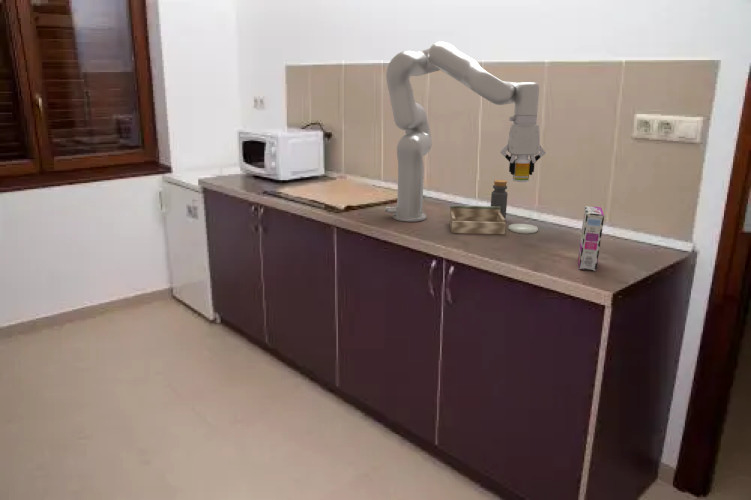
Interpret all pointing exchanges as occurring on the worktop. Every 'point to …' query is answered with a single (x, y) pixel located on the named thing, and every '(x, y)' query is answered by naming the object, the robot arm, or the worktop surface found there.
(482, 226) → the beige rectangular tray
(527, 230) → the saucer
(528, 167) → the supplement bottle
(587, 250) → the candy bar box
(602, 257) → the worktop surface
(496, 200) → the bottle
